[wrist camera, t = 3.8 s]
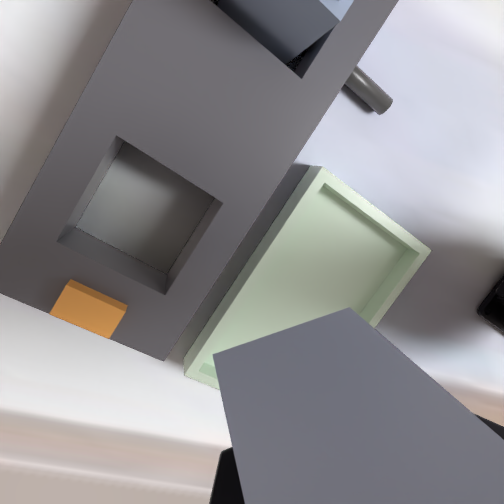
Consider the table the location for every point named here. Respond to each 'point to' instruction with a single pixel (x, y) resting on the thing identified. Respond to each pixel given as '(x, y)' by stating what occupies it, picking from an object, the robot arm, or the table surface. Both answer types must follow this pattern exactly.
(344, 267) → the tray
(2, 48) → the table surface
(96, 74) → the strip
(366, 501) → the plug
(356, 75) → the twin plug
